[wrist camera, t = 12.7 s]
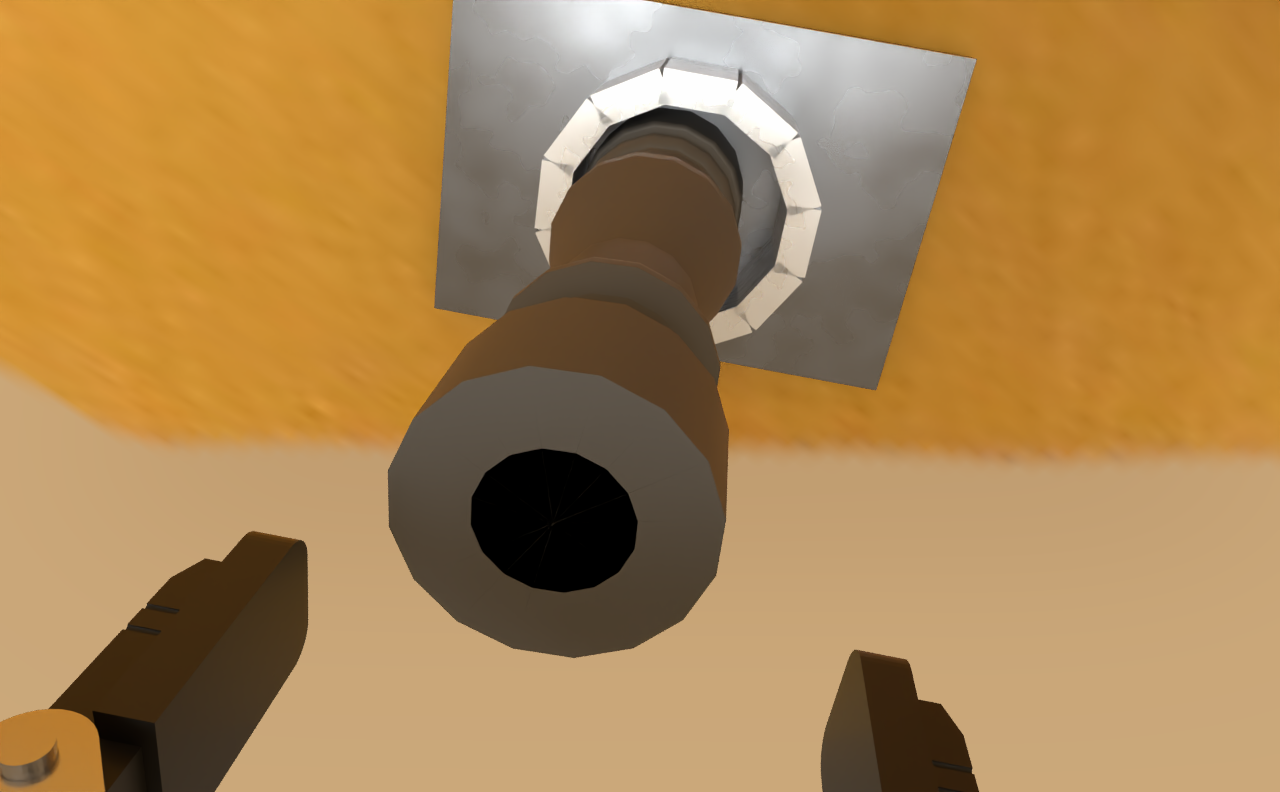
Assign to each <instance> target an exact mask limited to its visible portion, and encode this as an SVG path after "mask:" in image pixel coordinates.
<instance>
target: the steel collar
mask: <svg viewBox="0 0 1280 792" xmlns="http://www.w3.org/2000/svg"><path fill="white" fill-rule="evenodd" d="M976 60H977V59H974V58H972V57H967V56H961V55H956V54H950V53H944V52H939V51H933V50H928V49H922V48H916V47H911V46H905V45H899V44H894V43H888V42H882V41H877V40H871V39H866V38H860V37H854V36H849V35H843V34H837V33H832V32H826V31H821V30H815V29H809V28H804V27H798V26H792V25H787V24H781V23H776V22H770V21H764V20H759V19H753V18H747V17H742V16H736V15H730V14H725V13H719V12H714V11H708V10H702V9H697V8H691V7H685V6H680V5H674V4H669V3H663V2H657V1H652V0H453V12H452V29H451V45H450V61H449V78H448V94H447V110H446V127H445V143H444V160H443V176H442V192H441V209H440V225H439V241H438V258H437V274H436V290H435V307H434V308H437V309H443V310H448V311H453V312H459V313H464V314H469V315H475V316H480V317H485V318H491V319H496V320H499V319H500V318H501V317H502V316H504V314H505V312H506V310H507V308H508V306H509V304H510V302H511V301H512V299H513V297H514V296H515V295H516V294H517V293H519V292H520V291H521V290H523V289H524V288H525V287H526V286H528V285H529V284H530V283H531V282H533V281H534V280H535V279H537V278H538V277H539V276H540V275H542V274H543V273H544V272H546V271H547V270H548V269H549V268H550V264H549V251H550V236H551V223H552V221H553V219H554V217H555V215H556V213H557V211H558V209H559V207H560V205H561V203H562V201H563V199H564V197H565V195H566V193H567V191H568V190H569V188H570V187H571V186H572V185H573V184H574V183H575V182H577V181H578V180H579V179H580V178H582V177H583V176H584V175H585V173H586V171H587V169H588V167H589V165H590V163H591V161H592V159H593V157H594V155H595V153H596V151H597V150H598V148H599V147H600V146H601V144H602V143H603V142H604V140H605V139H606V138H607V136H608V135H609V134H610V133H612V132H613V131H614V130H615V129H616V128H618V127H619V126H620V125H621V124H623V123H624V122H625V121H626V120H627V119H629V118H631V117H633V116H636V115H639V114H641V113H644V112H647V111H650V110H654V109H657V108H660V107H662V108H670V109H678V110H686V111H692V112H693V113H695V114H697V115H698V116H700V117H702V118H704V119H705V120H707V121H709V122H710V123H712V124H714V125H715V126H717V127H718V128H719V129H720V131H721V132H722V133H723V135H724V136H725V137H726V139H727V140H728V141H729V143H730V144H731V146H732V147H733V148H734V150H735V151H736V155H737V159H738V163H739V167H740V171H741V175H742V179H743V201H742V207H741V214H740V220H739V226H738V231H739V235H740V239H741V243H742V248H741V255H740V261H739V267H738V273H737V280H736V285H735V287H734V288H733V290H732V291H731V293H730V294H729V296H728V298H727V299H726V301H725V302H724V304H723V305H722V307H721V309H720V310H719V312H718V313H717V315H716V316H715V317H714V318H713V319H712V320H711V321H710V322H709V324H710V328H711V332H712V335H713V339H714V343H715V346H716V350H717V353H718V357H719V361H721V362H727V363H732V364H738V365H743V366H748V367H754V368H759V369H764V370H770V371H775V372H781V373H786V374H791V375H797V376H802V377H807V378H813V379H818V380H823V381H829V382H834V383H840V384H845V385H850V386H856V387H861V388H866V389H872V390H876V389H877V386H878V382H879V379H880V376H881V372H882V369H883V366H884V363H885V359H886V356H887V353H888V349H889V346H890V343H891V340H892V336H893V333H894V330H895V326H896V323H897V320H898V317H899V313H900V310H901V307H902V303H903V300H904V297H905V294H906V290H907V287H908V284H909V280H910V277H911V274H912V270H913V267H914V264H915V261H916V257H917V254H918V251H919V247H920V244H921V241H922V238H923V234H924V231H925V228H926V224H927V221H928V218H929V215H930V211H931V208H932V205H933V201H934V198H935V195H936V192H937V188H938V185H939V182H940V178H941V175H942V172H943V169H944V165H945V162H946V159H947V155H948V152H949V149H950V145H951V142H952V139H953V136H954V132H955V129H956V126H957V122H958V119H959V116H960V113H961V109H962V106H963V103H964V99H965V96H966V93H967V90H968V86H969V83H970V80H971V76H972V73H973V70H974V67H975V63H976Z"/></svg>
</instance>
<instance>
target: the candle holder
mask: <svg viewBox="0 0 1280 792" xmlns="http://www.w3.org/2000/svg"><path fill="white" fill-rule="evenodd" d="M742 201H743V179H742V175H741V171H740V167H739V163H738V159H737V155H736V151H735V150H734V148H733V147H732V146H731V144H730V143H729V141H728V140H727V139H726V137H725V136H724V135H723V133H722V132H721V131H720V129H719V128H718V127H717V126H715V125H714V124H712V123H710V122H709V121H707V120H705V119H704V118H702V117H700V116H698V115H697V114H695V113H693V112H692V111H686V110H678V109H670V108H662V107H660V108H657V109H654V110H650V111H647V112H644V113H641V114H639V115H636V116H633V117H631V118H629V119H627V120H626V121H625V122H624V123H623V124H621V125H620V126H619V127H618V128H616V129H615V130H614V131H613V132H612V133H610V134H609V135H608V136H607V138H606V139H605V140H604V142H603V143H602V144H601V146H600V147H599V148H598V150H597V151H596V153H595V155H594V157H593V159H592V161H591V163H590V165H589V167H588V169H587V171H586V173H585V175H584V176H583V177H582V178H580V179H579V180H578V181H577V182H575V183H574V184H573V185H572V186H571V187H570V188H569V190H568V191H567V193H566V195H565V197H564V199H563V201H562V203H561V205H560V207H559V209H558V211H557V213H556V215H555V217H554V219H553V221H552V223H551V236H550V251H549V264H550V268H549V269H548V270H547V271H546V272H544V273H543V274H542V275H540V276H539V277H538V278H537V279H535V280H534V281H533V282H531V283H530V284H529V285H528V286H526V287H525V288H524V289H523V290H521V291H520V292H519V293H517V294H516V295H515V296H514V297H513V299H512V301H511V302H510V304H509V306H508V308H507V310H506V312H505V314H504V316H502V317H501V318H500V319H499V320H497V321H496V322H495V323H493V324H492V325H491V326H490V327H488V328H487V329H486V330H484V331H483V332H482V333H480V334H479V335H478V336H477V337H475V338H474V339H473V340H471V341H470V342H469V343H468V344H467V345H466V346H465V347H464V349H463V350H462V352H461V353H460V354H459V356H458V357H457V358H456V360H455V361H454V363H453V364H452V365H451V367H450V368H449V370H448V371H447V372H446V374H445V375H444V377H443V378H442V379H441V381H440V382H439V384H438V385H437V386H436V388H435V389H434V391H433V392H432V393H431V395H430V396H429V398H428V399H427V400H426V402H425V403H424V405H423V406H422V407H421V409H420V410H419V412H418V413H417V414H416V416H415V417H414V419H413V420H412V422H411V424H410V426H409V429H408V431H407V433H406V435H405V437H404V439H403V441H402V443H401V445H400V447H399V449H398V451H397V453H396V455H395V457H394V459H393V461H392V463H391V465H390V468H389V469H388V494H389V495H388V497H389V498H388V499H389V528H390V530H391V532H392V534H393V536H394V538H395V540H396V543H397V545H398V547H399V549H400V551H401V553H402V555H403V557H404V560H405V562H406V564H407V565H408V568H409V570H410V572H411V574H412V576H413V579H414V580H415V581H416V582H417V583H418V584H420V586H421V587H423V588H424V590H426V591H427V592H428V593H429V594H430V595H431V596H432V597H433V598H434V599H435V600H436V601H437V602H438V603H439V604H440V605H441V606H442V607H443V608H444V609H445V610H446V611H447V612H448V613H449V614H450V615H451V616H452V617H453V618H454V619H455V620H456V621H458V622H460V623H462V624H464V625H466V626H468V627H470V628H472V629H474V630H476V631H478V632H480V633H482V634H484V635H486V636H488V637H490V638H493V639H495V640H497V641H499V642H501V643H503V644H505V645H507V646H509V647H511V648H513V649H520V650H526V651H533V652H539V653H546V654H552V655H559V656H565V657H572V658H576V657H582V656H588V655H595V654H601V653H607V652H613V651H619V650H625V649H631V648H634V647H636V646H638V645H640V644H641V643H643V642H645V641H647V640H649V639H650V638H652V637H654V636H656V635H657V634H659V633H661V632H662V631H664V630H666V629H668V628H670V627H671V626H673V625H675V624H677V623H678V622H680V621H682V620H683V619H684V618H685V617H686V615H687V614H688V613H689V611H690V610H691V609H692V607H693V606H694V605H695V603H696V602H697V601H698V599H699V598H700V596H701V595H702V594H703V592H704V591H705V590H706V588H707V587H708V586H709V584H710V583H711V582H712V580H713V579H714V578H715V576H716V573H717V568H718V562H719V556H720V551H721V545H722V539H723V534H724V528H725V522H726V501H727V469H728V437H729V429H728V426H727V422H726V418H725V415H724V411H723V408H722V404H721V401H720V397H719V394H718V390H717V385H718V378H719V372H720V361H719V357H718V353H717V350H716V346H715V343H714V339H713V335H712V332H711V328H710V324H709V322H710V321H711V320H712V319H713V318H714V317H715V316H716V315H717V313H718V312H719V310H720V309H721V307H722V305H723V304H724V302H725V301H726V299H727V298H728V296H729V294H730V293H731V291H732V290H733V288H734V287H735V285H736V280H737V273H738V267H739V261H740V255H741V248H742V243H741V239H740V235H739V231H738V226H739V220H740V214H741V207H742Z"/></svg>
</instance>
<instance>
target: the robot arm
mask: <svg viewBox="0 0 1280 792" xmlns="http://www.w3.org/2000/svg"><path fill="white" fill-rule="evenodd" d="M307 628H308V567H307V547H306V545H305V543H304V541H302V540H296V539H291V538H286V537H281V536H276V535H271V534H265V533H260V532H255V531H252V532H249V533H247V534H246V535H245V536H244V537H243V538H242V539H241V540H240V542H239V543H238V544H237V545H236V546H235V547H234V548H233V550H232V551H231V552H230V553H229V554H228V555H227V557H226V558H225V559H224V560H223V561H222V562H220V561H215V560H210V559H204V560H202V561H200V562H198V563H196V564H195V565H193V566H191V567H189V568H187V569H186V570H184V571H182V572H180V573H178V574H177V575H175V576H173V577H171V578H170V579H169V580H168V581H167V582H166V584H165V585H164V586H163V587H162V588H161V589H160V590H159V591H158V592H157V593H156V594H155V596H153V597H152V598H151V599H150V601H149V602H148V603H147V606H146V608H145V609H143V608H142V609H141V610H140V611H139V613H137V615H136V616H135V617H134V618H133V619H132V620H131V621H130V622H129V623H128V626H127V629H126V630H122V631H121V632H120V633H119V634H118V635H117V636H116V637H115V638H114V639H113V640H112V641H111V643H110V644H109V645H108V646H107V647H106V648H105V649H104V650H103V651H102V652H101V653H100V654H99V655H98V656H97V658H96V659H95V660H94V661H93V662H92V663H91V664H90V665H89V666H88V667H87V668H86V669H85V670H84V671H83V673H82V674H81V675H80V676H79V677H78V678H77V679H76V680H75V681H74V682H73V683H72V684H71V685H70V687H69V688H68V689H67V690H66V691H65V692H64V693H63V694H62V695H61V696H60V697H59V698H58V699H57V701H56V702H55V703H54V704H53V705H52V706H51V707H50V708H49V709H45V710H36V711H31V712H26V713H23V714H19V715H16V716H13V717H11V718H8V719H6V720H3V721H2V722H0V792H215V790H216V788H217V787H218V786H219V784H220V782H221V781H222V779H223V778H224V776H225V775H226V773H227V772H228V770H229V768H230V767H231V765H232V764H233V762H234V761H235V759H236V758H237V756H238V754H239V753H240V751H241V750H242V748H243V747H244V745H245V743H246V742H247V740H248V739H249V737H250V736H251V734H252V733H253V731H254V729H255V728H256V726H257V725H258V723H259V722H260V720H261V718H262V717H263V715H264V714H265V712H266V711H267V709H268V707H269V706H270V704H271V703H272V701H273V700H274V698H275V697H276V695H277V693H278V692H279V690H280V689H281V687H282V686H283V684H284V682H285V681H286V679H287V678H288V676H289V675H290V673H291V672H292V670H293V668H294V667H295V665H296V663H297V661H298V659H299V657H300V654H301V651H302V649H303V646H304V643H305V639H306V634H307ZM821 779H822V789H823V792H979V790H978V787H977V783H976V779H975V776H974V774H972V765H971V761H970V758H969V754H968V750H967V747H966V743H965V739H964V736H963V734H962V733H961V731H960V730H959V729H958V727H957V726H956V724H955V723H954V722H953V720H952V719H951V717H950V716H949V715H948V713H947V712H946V711H945V709H944V708H943V706H942V705H941V704H937V703H933V702H928V701H923V700H918V697H917V693H916V688H915V684H914V680H913V675H912V671H911V667H910V664H909V663H908V661H907V660H905V659H900V658H895V657H891V656H885V655H880V654H875V653H870V652H865V651H860V650H854V651H853V652H852V653H851V655H850V657H849V660H848V662H847V665H846V669H845V671H844V674H843V677H842V681H841V683H840V686H839V689H838V692H837V695H836V698H835V701H834V704H833V707H832V710H831V713H830V716H829V719H828V722H827V725H826V728H825V733H824V738H823V744H822V752H821Z"/></svg>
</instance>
